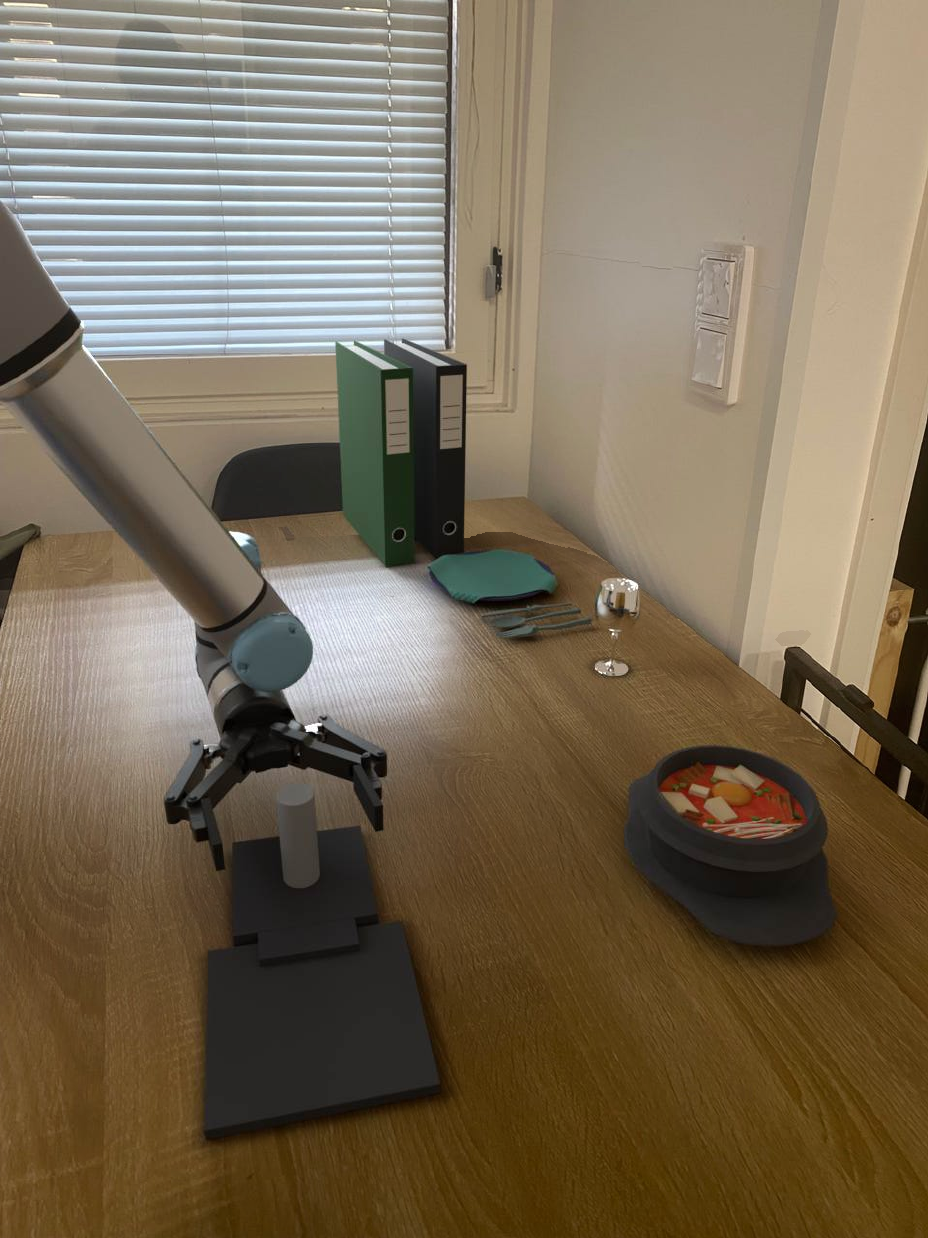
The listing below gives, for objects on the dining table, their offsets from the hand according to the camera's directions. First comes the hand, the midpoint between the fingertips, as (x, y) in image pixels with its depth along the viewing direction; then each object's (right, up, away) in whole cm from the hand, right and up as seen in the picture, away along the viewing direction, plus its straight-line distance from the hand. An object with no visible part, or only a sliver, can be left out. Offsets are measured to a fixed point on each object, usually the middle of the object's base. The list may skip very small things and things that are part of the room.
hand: (301, 837), depth 76 cm
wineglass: (+33, +12, +44) cm, 57 cm away
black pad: (+2, -12, -7) cm, 14 cm away
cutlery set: (+20, +22, +65) cm, 71 cm away
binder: (+2, +34, +88) cm, 95 cm away
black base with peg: (-1, -7, +4) cm, 8 cm away
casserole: (+38, -5, +10) cm, 40 cm away
